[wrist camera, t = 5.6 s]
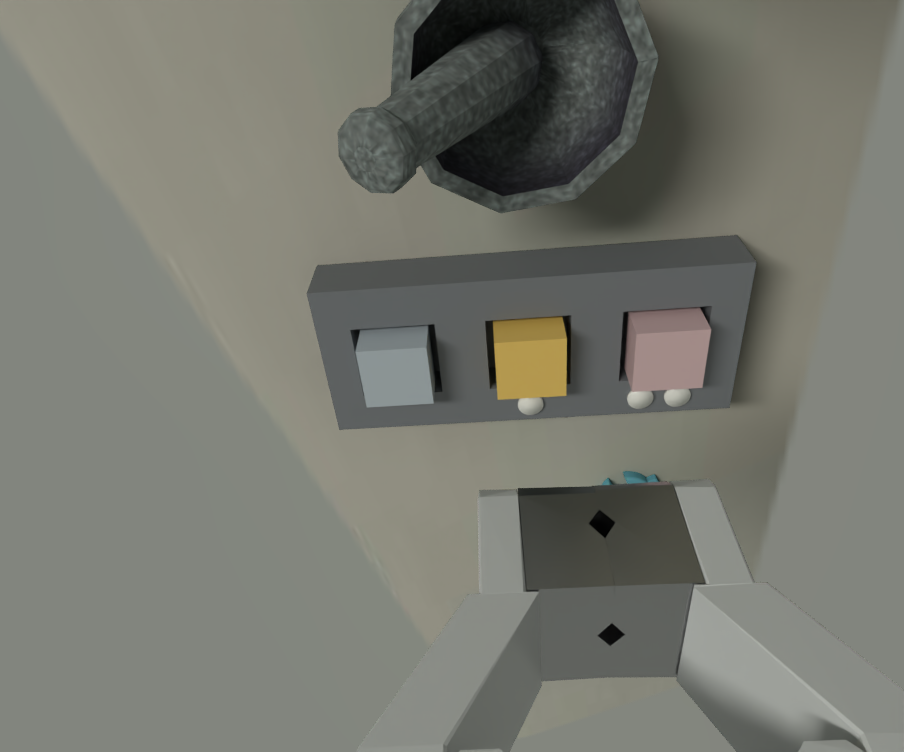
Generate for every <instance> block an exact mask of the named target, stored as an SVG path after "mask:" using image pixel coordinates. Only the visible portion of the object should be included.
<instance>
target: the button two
mask: <svg viewBox="0 0 904 752" xmlns="http://www.w3.org/2000/svg"><path fill="white" fill-rule="evenodd" d="M710 334H711V328H710V326H709V324H708V322H707V320H706V318H705V316H704V314H703V312H702V310H701V309H700V307H689V308H674V309H659V310H643V311H628V322H627V336H626V350H625V365H624V368H625V371H626V374H627V378H628V381H629V384H630V387H631V391H632V392H640V391H657V390H674V389H691V388H702V386H703V380H704V373H705V367H706V360H707V354H708V347H709V341H710Z"/></svg>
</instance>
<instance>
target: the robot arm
mask: <svg viewBox="0 0 904 752" xmlns="http://www.w3.org/2000/svg"><path fill="white" fill-rule="evenodd" d="M478 547H479V594H468V595H467V596H466V597H465V599H464V600H463V602H462V603H461V604H460V606H459V607H458V609H457V610H456V611H455V613H454V614H453V616H452V617H451V618H450V620H449V621H448V623H447V624H446V625H445V627H444V628H443V630H442V631H441V632H440V634H439V635H438V637H437V638H436V639H435V641H434V642H433V644H432V645H431V646H430V648H429V649H428V650H427V652H426V653H425V655H424V656H423V657H422V659H421V660H420V662H419V663H418V665H417V666H416V667H415V669H414V670H413V671H412V673H411V674H410V676H409V677H408V679H407V680H406V681H405V683H404V684H403V686H402V687H401V688H400V690H399V691H398V692H397V694H396V695H395V697H394V698H393V700H392V701H391V702H390V704H389V705H388V706H387V708H386V709H385V711H384V712H383V713H382V715H381V716H380V718H379V719H378V721H377V722H376V723H375V725H374V726H373V727H372V729H371V730H370V732H369V733H368V734H367V736H366V737H365V738H364V740H363V741H362V743H361V744H360V746H359V747H358V748H357V752H510V750H511V747H512V745H513V743H514V741H515V739H516V737H517V735H518V733H519V731H520V729H521V727H522V725H523V723H524V721H525V719H526V717H527V715H528V713H529V711H530V709H531V706H532V704H533V702H534V700H535V698H536V696H537V694H538V692H539V690H540V688H541V686H542V682H541V681H555V680H572V679H588V678H605V677H677V680H676V681H677V682H678V683H679V684H680V685H681V686H682V688H683V689H684V690H685V691H686V692H687V694H688V695H689V696H690V697H691V698H692V700H694V702H695V703H696V704H697V705H698V707H699V708H700V709H701V710H702V711H703V713H704V714H705V715H706V716H707V717H708V718H709V720H710V721H711V722H712V723H713V724H714V726H715V727H716V728H717V729H718V730H719V732H721V734H722V735H723V736H724V737H725V738H726V740H727V741H728V742H729V743H730V744H731V746H732V747H733V748H734V749H735V751H736V752H904V690H903V689H902V688H901V687H900V686H898V685H897V684H896V683H895V682H893V681H892V680H891V679H889V678H888V677H887V676H886V675H884V674H883V673H882V672H881V671H879V670H878V669H877V668H876V667H874V666H873V665H872V664H870V663H869V662H868V661H867V660H865V659H864V658H863V657H862V656H860V655H859V654H858V653H856V652H855V651H854V650H853V649H851V648H850V647H849V646H848V645H846V644H845V643H844V642H843V641H841V640H840V639H839V638H837V637H836V636H835V635H834V634H832V633H831V632H830V631H829V630H827V629H826V628H825V627H824V626H822V625H821V624H820V623H818V622H817V621H816V620H815V619H813V618H812V617H811V616H810V615H808V614H807V613H806V612H804V611H803V610H802V609H801V608H799V607H798V606H797V605H796V604H794V603H793V602H792V601H791V600H789V599H788V598H787V597H785V596H784V595H783V594H782V593H780V592H779V591H778V590H777V589H775V588H774V587H773V586H771V585H770V584H769V583H768V582H754V579H753V577H752V574H751V572H750V570H749V567H748V565H747V562H746V560H745V557H744V555H743V552H742V550H741V547H740V545H739V542H738V540H737V538H736V535H735V533H734V530H733V528H732V525H731V523H730V520H729V518H728V515H727V513H726V511H725V508H724V506H723V503H722V501H721V498H720V496H719V493H718V491H717V488H716V486H715V484H714V483H713V482H712V481H711V480H710V479H699V480H682V481H670V482H669V483H668V482H667V481H665V482H648V483H632V484H615V485H598V486H592V487H554V488H518V493H517V489H507V490H479V495H478Z"/></svg>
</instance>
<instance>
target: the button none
mask: <svg viewBox="0 0 904 752" xmlns="http://www.w3.org/2000/svg"><path fill="white" fill-rule="evenodd" d="M355 353H356V357H357V362H358V367H359V372H360V377H361V382H362V387H363V392H364V397H365V401H366V406H367V407H384V406H401V405H418V404H434V391H435V373H434V365H433V358H432V350H431V342H430V334H429V326H428V325H416V326H401V327H385V328H370V329H360V334H359V338H358V343H357V347H356V352H355Z"/></svg>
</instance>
